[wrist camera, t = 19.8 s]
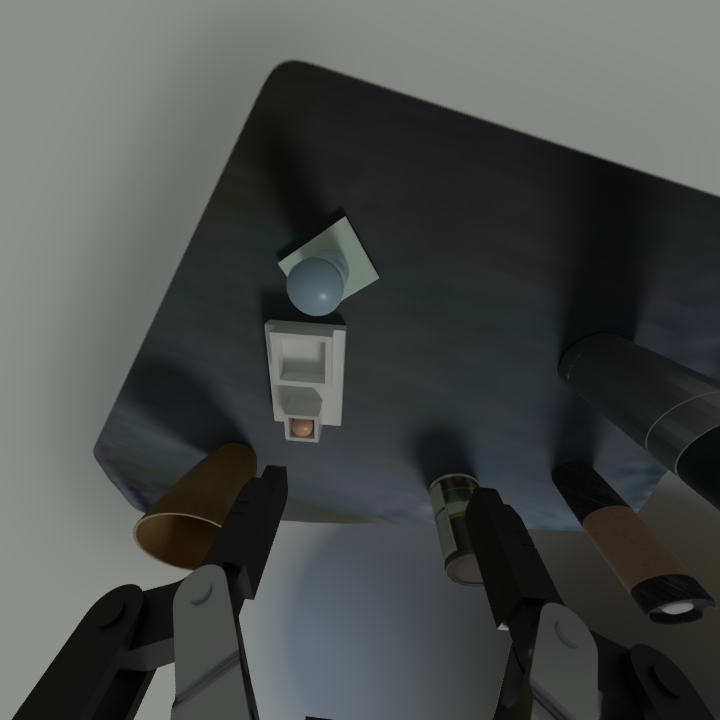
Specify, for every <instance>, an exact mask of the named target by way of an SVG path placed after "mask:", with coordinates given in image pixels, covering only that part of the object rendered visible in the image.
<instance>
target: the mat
mask: <svg viewBox="0 0 720 720" xmlns="http://www.w3.org/2000/svg"><path fill="white" fill-rule="evenodd" d="M326 249H331V250H335V251H337V252H339V253H341V254H342V255H343V256H344V257H345V259H346V260H347V262H348V265H349V277H348V280H347V283H346V285H345V288H344V292H343V296H342V299H341V301H342V300H343V299H345V298H347V297H348V296H350V295H352V294H353V293H355V292H357V291H358V290H360V289H362V288H363V287H365V286H367V285H368V284H370V283H372V282H373V281H375V280H377V279H378V278H379V276H378V274H377V273H376V271H375V269H374V267H373V265H372V263H371V262H370V260H369V258H368V256H367V254H366V252H365V251H364V249H363V247H362V245H361V243H360V241H359V240H358V238H357V236H356V234H355V232H354V230H353V229H352V227H351V225H350V223H349V221H348V219H347V218H346V216H345V217H344V218H342V219H341V220H339V221H338V222H336V223H335V224H334V225H332V226H331V227H329V228H328V229H326V230H325V231H324V232H322V233H321V234H319V235H318V236H316V237H315V238H313V239H312V240H311V241H309V242H308V243H306V244H305V245H303V246H302V247H301V248H299V249H298V250H296V251H295V252H293V253H292V254H290V255H289V256H288V257H286V258H285V259H283V260H282V261H280V262H279V263H278V264H279V266H280V267H281V269H282V270H283V271H284V273H285V274H286V276H287V277H288V275H289V272H290V271H291V269H292V268H293V267H294V266H295V265H296V264H297V263H299V262H300V261H302V260H304V259H307V258H309V257H311V256H313V255H314V254H316V253H318V252H320V251H322V250H326Z"/></svg>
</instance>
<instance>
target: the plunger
mask: <svg viewBox="0 0 720 720" xmlns="http://www.w3.org/2000/svg"><path fill="white" fill-rule="evenodd" d="M313 424H314V420H308V419H296V418H295V419H294V422H293V424H292V431H293V432H294V433H295V434H297V435H299V436H307V435H309V434H310V433H311V431H312V428H313Z"/></svg>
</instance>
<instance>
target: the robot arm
mask: <svg viewBox="0 0 720 720" xmlns="http://www.w3.org/2000/svg"><path fill="white" fill-rule="evenodd" d="M559 375H560V377H561V379H562V381H563V382H564V383H565V384H567V385H568V386H569V387H570V388H571V389H573V390H574V391H575V392H576V393H577V394H579V395H580V396H581V397H582V398H583V399H584V400H586V401H587V402H588V403H589V404H591V405H592V406H593V407H594V408H595V409H597V410H598V411H599V412H600V413H601V414H603V415H604V416H605V417H606V418H607V419H609V420H610V421H611V422H612V423H613V424H615V425H616V426H617V427H618V428H620V429H621V430H622V431H623V432H624V433H626V434H627V435H628V436H629V437H630V438H632V439H633V440H634V441H635V442H636V443H638V444H639V445H640V446H641V447H642V448H644V449H645V450H646V451H647V452H648V453H650V454H651V455H652V456H654V457H655V458H656V459H657V460H658V461H660V462H661V463H662V464H663V465H664V466H666V467H667V468H668V469H669V470H670V471H672V472H673V473H674V474H675V475H677V476H678V477H679V478H680V479H681V480H682V481H684V482H685V483H686V484H687V485H689V486H690V487H691V488H692V489H693V490H695V491H696V492H697V493H698V494H700V495H701V496H702V497H703V498H705V499H706V500H707V501H708V502H710V503H711V504H712V505H713V506H714V507H716V508H717V509H718V510H719V511H720V382H718V381H716V380H714V379H712V378H710V377H707V376H705V375H703V374H701V373H699V372H697V371H694V370H692V369H690V368H688V367H686V366H684V365H681V364H679V363H677V362H675V361H673V360H671V359H668V358H666V357H664V356H662V355H660V354H658V353H655V352H653V351H651V350H649V349H647V348H645V347H643V346H641V345H638V344H636V343H634V342H632V341H630V340H628V339H625V338H623V337H621V336H619V335H616V334H613V333H598V334H594V335H590V336H588V337H586V338H583V339H582V340H580V341H578V342H577V343H575V344H574V345H573V346H572V347H571V348H570V349H569V350H568V351H567V352H566V353H565V354H564V356H563V358H562V359H561V362H560V365H559ZM287 496H288V482H287V470H286V467H285V466H277V465H267V466H266V468H265V470H264V472H263V474H262V477H261V478H257V477H252V478H251V479H250V480H249V481H248V482H247V483H246V484H245V485H244V486H243V487H242V488H241V490H240V492H239V494H238V496H237V498H236V500H235V503H233V505H232V507H231V509H230V511H229V514H228V515H227V517H226V519H225V521H224V523H223V525H222V526H221V528H220V530H219V532H218V534H217V536H216V538H215V540H214V542H213V544H212V546H211V548H210V549H209V551H208V553H207V555H206V557H205V559H204V560H203V562H202V563H201V564H200V565H199V567H198V568H197V569H196V570H194V571H193V572H192V573H191V574H189V575H188V576H187V577H185V578H184V579H182V580H180V581H178V582H175V583H172V584H169V585H165V586H161V587H157V588H154V589H150V590H147V591H142V589H141V588H140V587H139V586H137V585H134V584H127V585H122V586H120V587H117V588H115V589H113V590H111V591H110V592H108V593H107V594H105V595H104V596H103V597H101V598H100V599H99V600H98V601H97V602H96V603H95V604H94V605H93V606H92V607H91V608H90V610H89V611H88V612H87V613H86V615H85V616H84V618H83V619H82V620H81V622H80V623H79V625H78V626H77V628H76V629H75V630H74V632H73V633H72V635H71V636H70V638H69V639H68V640H67V642H66V643H65V645H64V646H63V647H62V649H61V650H60V652H59V653H58V655H57V656H56V657H55V659H54V660H53V662H52V663H51V664H50V666H49V667H48V669H47V670H46V672H45V673H44V674H43V676H42V677H41V679H40V680H39V681H38V683H37V684H36V686H35V687H34V689H33V690H32V691H31V693H30V694H29V696H28V697H27V698H26V700H25V701H24V703H23V704H22V706H21V707H20V708H19V710H18V711H17V713H16V714H15V716H14V717H13V719H12V720H133V719H134V717H135V715H136V713H137V711H138V709H139V706H140V704H141V702H142V700H143V698H144V696H145V693H146V691H147V689H148V687H149V685H150V683H151V680H152V678H153V676H154V674H155V671H156V669H157V668H158V667H161V666H164V665H167V664H170V663H173V662H175V682H176V694H175V701H174V703H173V705H172V710H171V720H259V715H258V710H257V705H256V700H255V696H254V692H253V688H252V683H251V678H250V673H249V668H248V664H247V658H246V653H245V648H244V642H243V637H242V633H241V627H240V622H239V614H240V611H241V608H242V605H243V603H244V600H245V599H251V600H254V598H255V595H256V591H257V589H258V586H259V583H260V580H261V577H262V574H263V571H264V567H265V565H266V562H267V559H268V556H269V553H270V550H271V547H272V544H273V541H274V538H275V535H276V532H277V529H278V526H279V523H280V520H281V517H282V514H283V511H284V508H285V505H286V501H287ZM465 520H466V526H467V529H468V532H469V536H470V539H471V543H472V546H473V549H474V553H475V556H476V559H477V563H478V566H479V570H480V573H481V576H482V580H483V583H484V586H485V590H486V593H487V596H488V600H489V603H490V607H491V610H492V613H493V617H494V620H495V624H496V627H497V629H500V630H509V631H510V635H511V638H512V641H513V642H512V644H511V647H510V651H509V655H508V660H507V664H506V668H505V672H504V676H503V681H502V685H501V689H500V694H499V698H498V702H497V706H496V710H495V713H494V716H493V718H492V720H715V719H714V717H713V716H712V714H711V713H710V711H709V710H708V708H707V707H706V705H705V704H704V702H703V701H702V699H701V698H700V696H699V695H698V693H697V691H696V690H695V688H694V687H693V685H692V684H691V683H690V681H689V680H688V679H687V677H686V676H685V675H684V673H683V672H682V671H681V670H680V669H679V668H678V667H677V666H676V665H675V664H674V663H673V662H672V661H671V660H670V659H668V658H667V657H666V656H665V655H663V654H662V653H661V652H659V651H657V650H655V649H654V648H652V647H650V646H647V645H644V644H638V645H635V646H633V647H632V648H630V649H627V648H625V647H623V646H621V645H619V644H617V643H615V642H613V641H611V640H609V639H607V638H605V637H603V636H601V635H598V634H596V633H595V632H593V631H591V630H589V629H588V628H587V627H586V626H585V624H584V623H583V622H582V621H581V619H580V618H579V617H578V616H576V615H575V613H573V612H572V611H571V610H569V609H568V608H567V607H566V606H565V604H564V603H563V601H562V600H561V598H560V596H559V594H558V592H557V590H556V588H555V586H554V584H553V582H552V580H551V578H550V576H549V574H548V572H547V570H546V568H545V566H544V563H543V561H542V559H541V557H540V555H539V553H538V551H537V549H535V545H534V543H533V541H532V539H531V537H530V536H529V535H528V531H527V529H526V527H525V525H524V523H523V521H522V519H521V517H520V516H519V515H518V514H517V513H516V511H515V510H514V509H513V508H512V507H511V506H510V505H506V504H503V502H502V500H501V497H500V495H499V493H498V492H497V490H495V489H491V488H482V487H475V488H474V490H473V493H472V495H471V498H470V500H469V502H468V505H467V507H466V511H465ZM306 720H331V719H323V718H315V717H307V716H306Z"/></svg>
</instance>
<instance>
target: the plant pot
mask: <svg viewBox="0 0 720 720" xmlns="http://www.w3.org/2000/svg"><path fill="white" fill-rule="evenodd" d="M256 476H257V458H256V455H255V453H254V452H253V451H252V450H251V449H250V448H249V447H247V446H245V445H243V444H240V443H227V444H224V445H222V446H221V447H219V448H218V449H216V450H215V451H214V452H212V453H211V454H209V455H208V456H207V457H205V458H204V459H203V460H202V461H200V462H199V463H198V464H197V465H196V466H194V467H193V468H192V469H191V470H190V471H188V472H187V473H186V474H185V475H184V476H183V477H182V478H181V479H180V480H179V481H177V482H176V483H175V484H174V485H173V486H172V487H171V488H170V489H169V490H168V491H167V492H166V493H165V494H164V495H163V496H162V497H161V498H160V499H159V500H158V501H157V502H156V503H155V504H154V505H153V506H152V507H151V509H150V510H149V511H148V512H147V513H146V514H145V515H144V516H143V517H142V518H141V519H140V520H139V521H138V523H137V524H136V525H135V527H134V529H133V537H134V540H135V542H136V543H137V545H138V546H139V547H140V549H141V550H143V551H144V552H145V553H146V554H147V555H149V556H150V557H152V558H154V559H155V560H157V561H159V562H162V563H164V564H166V565H170V566H172V567H176V568H179V569H183V570H189V571H194V570H196V569H197V568H198V567H199V565H200V564H201V563H202V562H203V560H204V559H205V557H206V555H207V553H208V551H209V549H210V548H211V546H212V544H213V542H214V540H215V538H216V536H217V534H218V532H219V530H220V528H221V526H222V525H223V523H224V521H225V519H226V517H227V515H228V514H229V511H230V509H231V507H232V505H233V503H235V500H236V498H237V496H238V494H239V492H240V490H241V488H242V487H243V486H244V485H245V484H246V483H247V482H248V481H249V480H250V479H251V478H252V477H256Z"/></svg>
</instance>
